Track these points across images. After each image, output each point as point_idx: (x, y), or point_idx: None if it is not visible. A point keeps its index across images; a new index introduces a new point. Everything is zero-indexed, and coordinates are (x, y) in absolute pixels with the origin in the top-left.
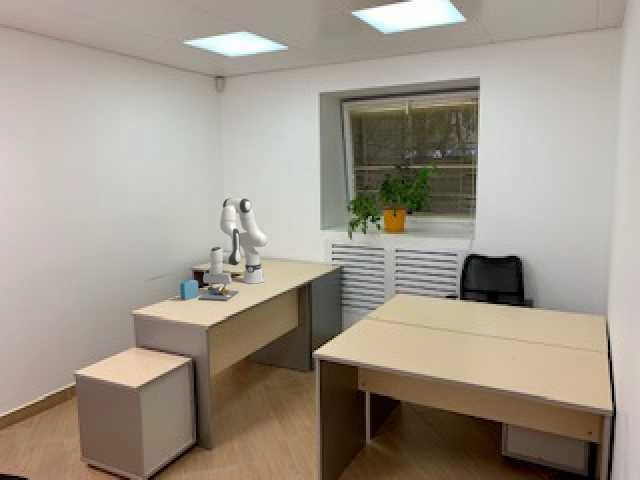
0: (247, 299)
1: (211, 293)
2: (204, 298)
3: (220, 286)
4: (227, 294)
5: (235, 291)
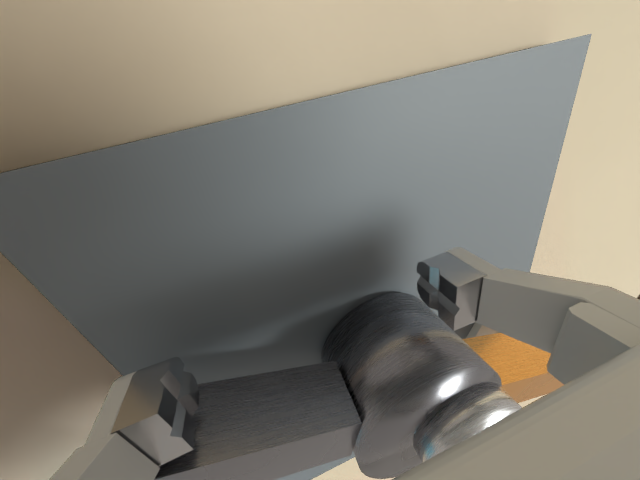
0: (622, 248)
1: (248, 373)
2: (314, 472)
3: (478, 426)
4: None
5: (550, 93)
